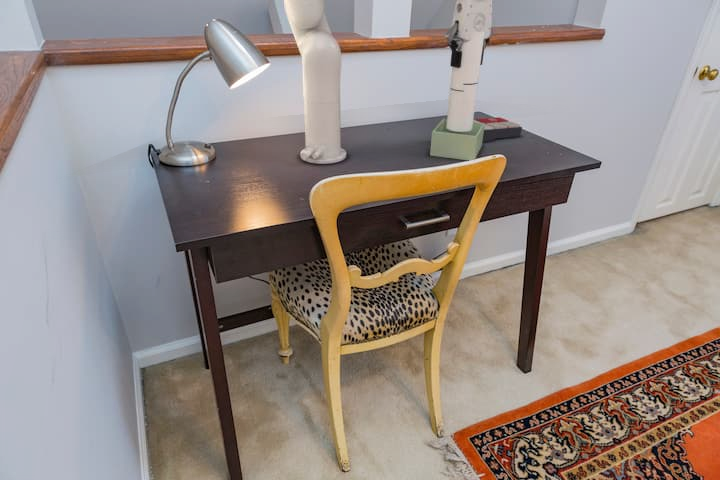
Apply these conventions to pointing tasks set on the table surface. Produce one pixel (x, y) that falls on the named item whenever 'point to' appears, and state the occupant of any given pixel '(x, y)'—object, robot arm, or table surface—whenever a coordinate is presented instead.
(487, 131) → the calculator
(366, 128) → the table surface
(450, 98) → the cylindrical container
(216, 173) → the table surface
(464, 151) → the tote
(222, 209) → the table surface
